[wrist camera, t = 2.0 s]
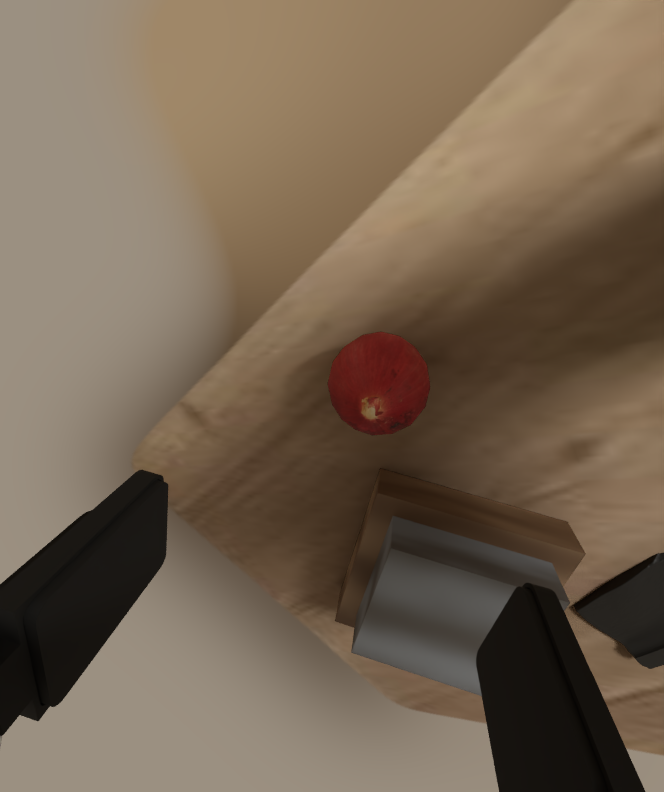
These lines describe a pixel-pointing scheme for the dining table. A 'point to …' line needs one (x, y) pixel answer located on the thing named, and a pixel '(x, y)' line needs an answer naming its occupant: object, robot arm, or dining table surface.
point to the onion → (379, 383)
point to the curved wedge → (632, 610)
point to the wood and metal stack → (444, 574)
